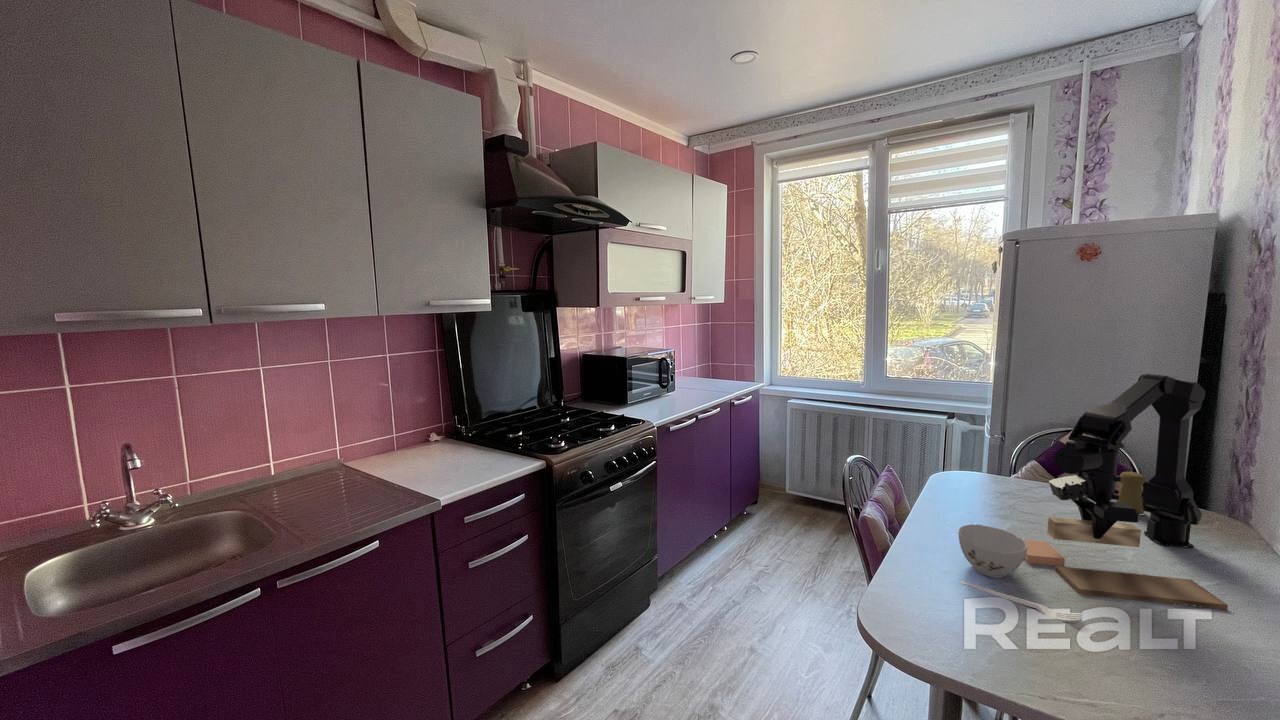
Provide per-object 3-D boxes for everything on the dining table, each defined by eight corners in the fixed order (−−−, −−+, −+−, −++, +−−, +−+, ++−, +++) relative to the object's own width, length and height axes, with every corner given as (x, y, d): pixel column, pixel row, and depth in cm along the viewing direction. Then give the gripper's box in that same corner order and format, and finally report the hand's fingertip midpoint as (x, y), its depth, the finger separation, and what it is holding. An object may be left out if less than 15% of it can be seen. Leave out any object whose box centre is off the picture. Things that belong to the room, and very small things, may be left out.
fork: (961, 582, 110) (961, 573, 110) (1083, 621, 96) (1084, 612, 96) (956, 588, 108) (957, 579, 108) (1081, 629, 94) (1082, 619, 93)
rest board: (1190, 584, 107) (1191, 579, 106) (1227, 609, 98) (1227, 604, 98) (1055, 570, 113) (1055, 566, 113) (1078, 593, 104) (1078, 588, 104)
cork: (1122, 514, 140) (1126, 475, 138) (1109, 506, 145) (1113, 468, 144) (1149, 517, 138) (1154, 477, 137) (1135, 508, 144) (1139, 470, 142)
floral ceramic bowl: (1007, 593, 104) (1010, 556, 103) (944, 566, 115) (946, 532, 114) (1041, 572, 112) (1044, 537, 111) (979, 548, 123) (981, 516, 122)
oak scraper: (1130, 541, 115) (1132, 524, 115) (1139, 547, 112) (1141, 529, 112) (1047, 533, 119) (1048, 516, 119) (1053, 539, 116) (1055, 522, 116)
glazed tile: (1046, 541, 122) (1012, 538, 124) (1064, 558, 114) (1028, 555, 116) (1045, 550, 122) (1011, 547, 124) (1064, 567, 114) (1027, 564, 116)
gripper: (1036, 453, 125) (1030, 514, 127) (1080, 480, 107) (1073, 551, 109) (1090, 456, 122) (1084, 519, 124) (1145, 484, 104) (1137, 557, 106)
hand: (1092, 535), depth 116 cm, fingers closed on oak scraper, 3 cm apart
